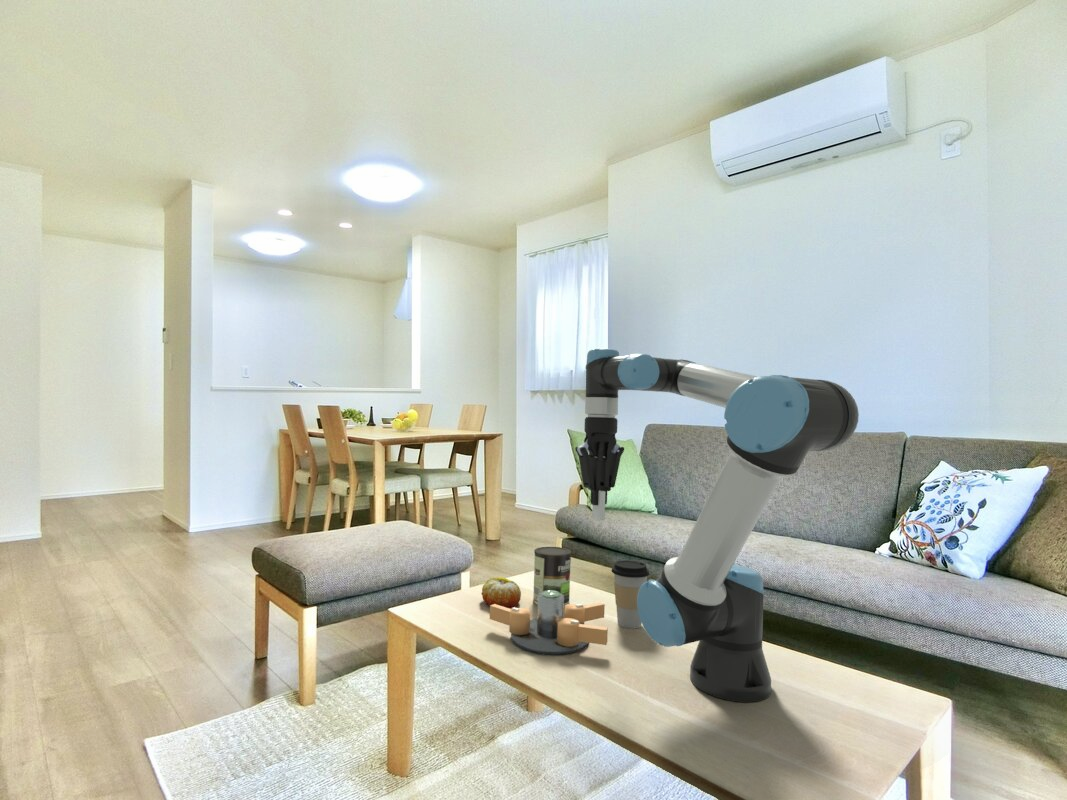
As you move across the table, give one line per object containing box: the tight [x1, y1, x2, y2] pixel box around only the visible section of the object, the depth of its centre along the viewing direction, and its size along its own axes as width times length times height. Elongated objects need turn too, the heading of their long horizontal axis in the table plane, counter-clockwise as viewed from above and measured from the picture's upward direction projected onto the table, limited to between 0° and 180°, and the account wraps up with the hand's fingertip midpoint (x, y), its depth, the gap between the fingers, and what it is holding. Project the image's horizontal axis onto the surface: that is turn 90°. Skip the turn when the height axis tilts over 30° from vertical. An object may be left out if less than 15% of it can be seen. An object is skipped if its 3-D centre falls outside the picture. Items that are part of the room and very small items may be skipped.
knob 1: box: [489, 604, 532, 635], centre depth 132 cm, size 11×5×5 cm, turn 53°
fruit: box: [481, 576, 522, 609], centre depth 155 cm, size 11×10×8 cm
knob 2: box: [563, 601, 606, 625], centre depth 136 cm, size 11×5×5 cm, turn 123°
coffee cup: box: [611, 559, 650, 629], centre depth 142 cm, size 9×9×15 cm
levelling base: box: [510, 590, 589, 657], centre depth 131 cm, size 18×18×11 cm
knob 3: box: [557, 617, 609, 647], centre depth 124 cm, size 11×5×5 cm, turn 75°
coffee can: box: [532, 546, 572, 607], centre depth 157 cm, size 10×10×14 cm
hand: (598, 519), depth 130 cm, fingers closed
